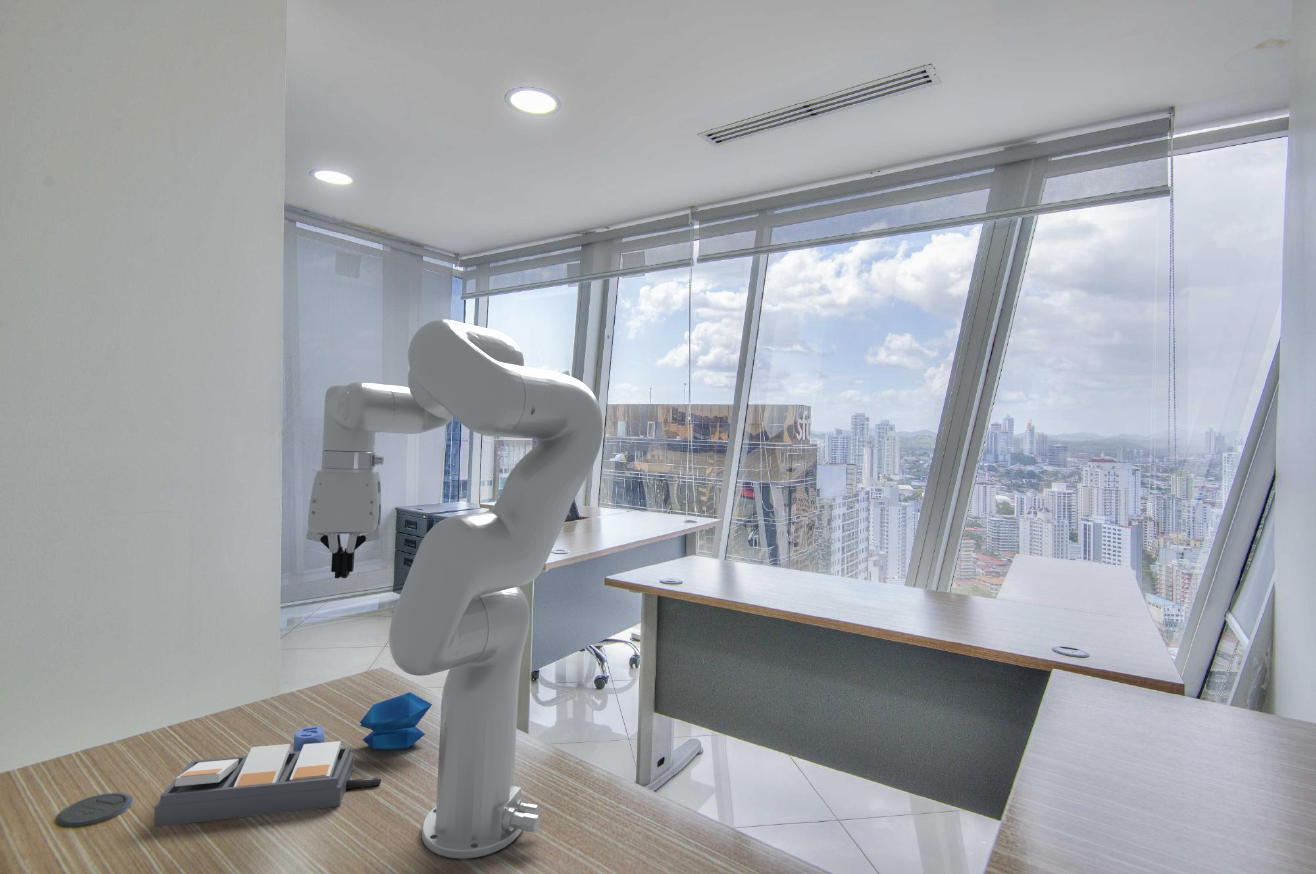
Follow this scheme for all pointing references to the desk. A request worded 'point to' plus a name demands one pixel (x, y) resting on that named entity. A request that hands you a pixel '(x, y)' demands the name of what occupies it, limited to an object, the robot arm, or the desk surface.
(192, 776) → the rocker
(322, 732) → the decorative dice
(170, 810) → the strip
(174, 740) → the desk surface
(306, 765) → the rocker
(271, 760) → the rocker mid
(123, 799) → the desk surface
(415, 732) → the crystal
